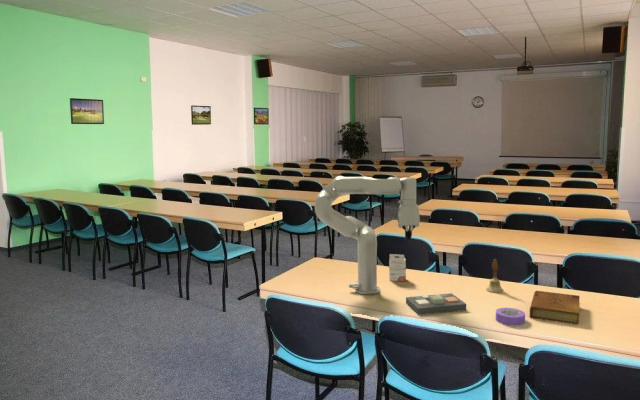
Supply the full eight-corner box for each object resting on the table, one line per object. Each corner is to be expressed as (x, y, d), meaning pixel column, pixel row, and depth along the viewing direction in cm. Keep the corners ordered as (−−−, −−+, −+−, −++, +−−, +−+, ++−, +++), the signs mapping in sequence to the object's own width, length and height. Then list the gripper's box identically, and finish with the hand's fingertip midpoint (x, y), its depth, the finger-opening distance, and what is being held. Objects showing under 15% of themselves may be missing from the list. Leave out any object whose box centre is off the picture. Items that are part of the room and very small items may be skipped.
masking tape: (501, 313, 219) (501, 305, 219) (528, 319, 212) (529, 311, 211) (491, 321, 210) (491, 313, 210) (519, 328, 203) (519, 319, 202)
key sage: (433, 305, 224) (433, 299, 224) (429, 301, 229) (429, 296, 228) (444, 304, 225) (444, 298, 224) (439, 300, 230) (439, 295, 229)
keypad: (417, 314, 219) (417, 306, 219) (405, 303, 234) (405, 295, 233) (466, 310, 223) (466, 302, 223) (451, 299, 238) (451, 291, 237)
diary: (534, 302, 234) (534, 290, 233) (578, 308, 225) (579, 295, 224) (529, 318, 213) (530, 305, 213) (578, 325, 205) (579, 312, 204)
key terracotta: (448, 306, 225) (448, 301, 225) (443, 302, 230) (443, 297, 230) (458, 305, 226) (458, 300, 226) (453, 301, 231) (453, 296, 231)
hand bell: (498, 294, 244) (499, 262, 241) (482, 290, 250) (483, 259, 248) (506, 290, 249) (507, 259, 247) (491, 286, 255) (492, 256, 253)
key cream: (419, 309, 223) (419, 303, 223) (415, 305, 228) (415, 300, 227) (429, 308, 224) (429, 302, 223) (425, 304, 229) (425, 299, 228)
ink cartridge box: (406, 278, 272) (406, 252, 269) (404, 281, 267) (404, 255, 265) (390, 277, 274) (390, 251, 272) (389, 280, 269) (388, 254, 267)
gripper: (396, 204, 240) (396, 241, 243) (425, 202, 243) (425, 239, 246) (391, 202, 248) (391, 238, 250) (419, 200, 250) (419, 236, 253)
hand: (408, 238), depth 248 cm, fingers closed
